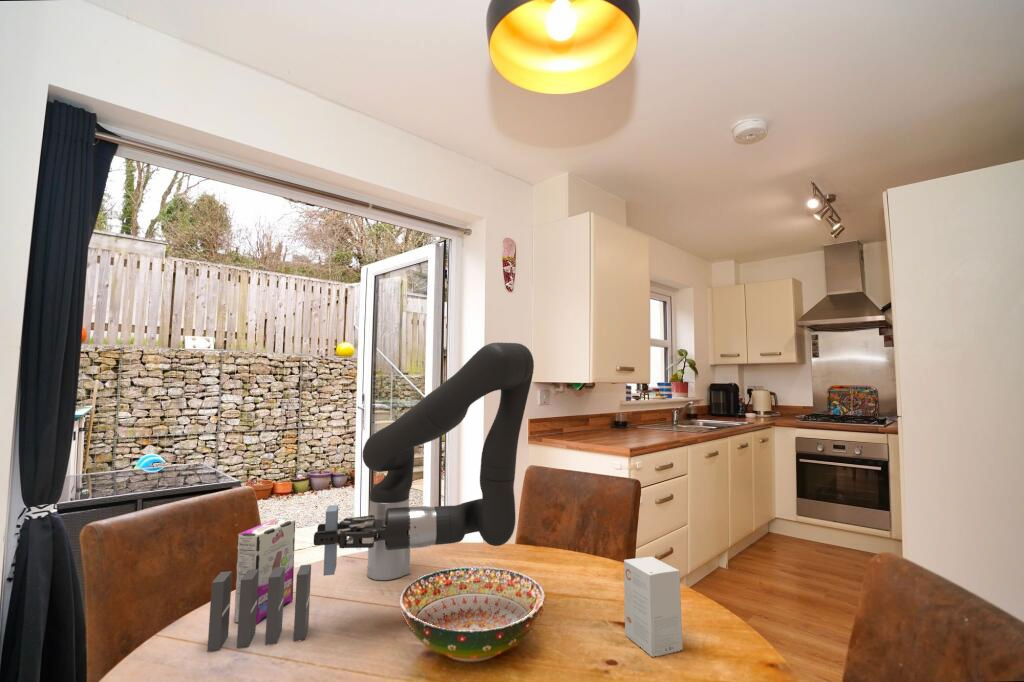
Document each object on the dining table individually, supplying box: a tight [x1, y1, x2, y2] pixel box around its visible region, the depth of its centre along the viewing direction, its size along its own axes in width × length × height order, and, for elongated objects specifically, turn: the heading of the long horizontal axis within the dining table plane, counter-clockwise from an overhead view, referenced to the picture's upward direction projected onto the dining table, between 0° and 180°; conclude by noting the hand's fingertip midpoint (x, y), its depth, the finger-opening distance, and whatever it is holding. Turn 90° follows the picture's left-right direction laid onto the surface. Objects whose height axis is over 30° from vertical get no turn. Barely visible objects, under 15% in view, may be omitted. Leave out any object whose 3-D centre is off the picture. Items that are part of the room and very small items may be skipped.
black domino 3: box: [293, 564, 312, 642], centre depth 88 cm, size 2×5×11 cm, turn 16°
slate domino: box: [323, 504, 339, 577], centre depth 90 cm, size 2×5×11 cm, turn 15°
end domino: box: [206, 570, 233, 653], centre depth 84 cm, size 2×5×11 cm, turn 16°
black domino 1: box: [236, 569, 259, 649], centre depth 85 cm, size 2×5×11 cm, turn 16°
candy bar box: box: [233, 517, 296, 625], centre depth 97 cm, size 11×5×16 cm, turn 168°
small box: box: [623, 556, 684, 658], centre depth 85 cm, size 8×6×13 cm
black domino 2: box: [264, 567, 285, 646], centre depth 86 cm, size 2×5×11 cm, turn 15°
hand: (316, 534), depth 89 cm, fingers closed on slate domino, 5 cm apart
